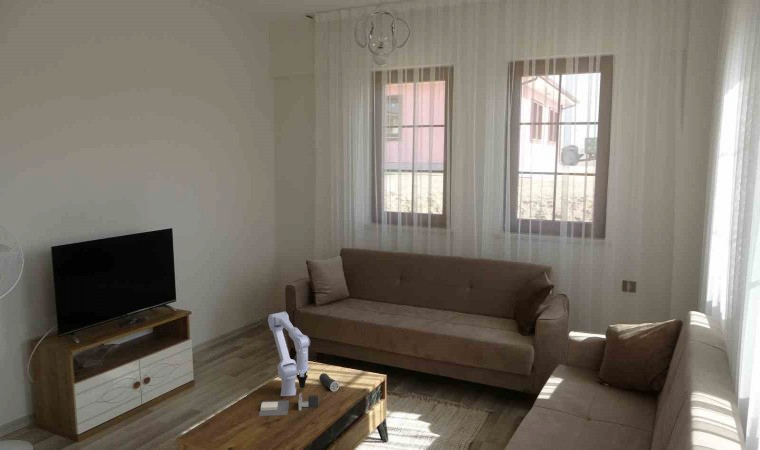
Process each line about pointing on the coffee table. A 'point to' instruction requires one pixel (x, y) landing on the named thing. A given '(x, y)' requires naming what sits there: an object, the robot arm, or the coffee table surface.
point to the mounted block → (310, 403)
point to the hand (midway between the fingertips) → (302, 384)
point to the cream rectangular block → (269, 406)
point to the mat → (280, 410)
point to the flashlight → (329, 382)
